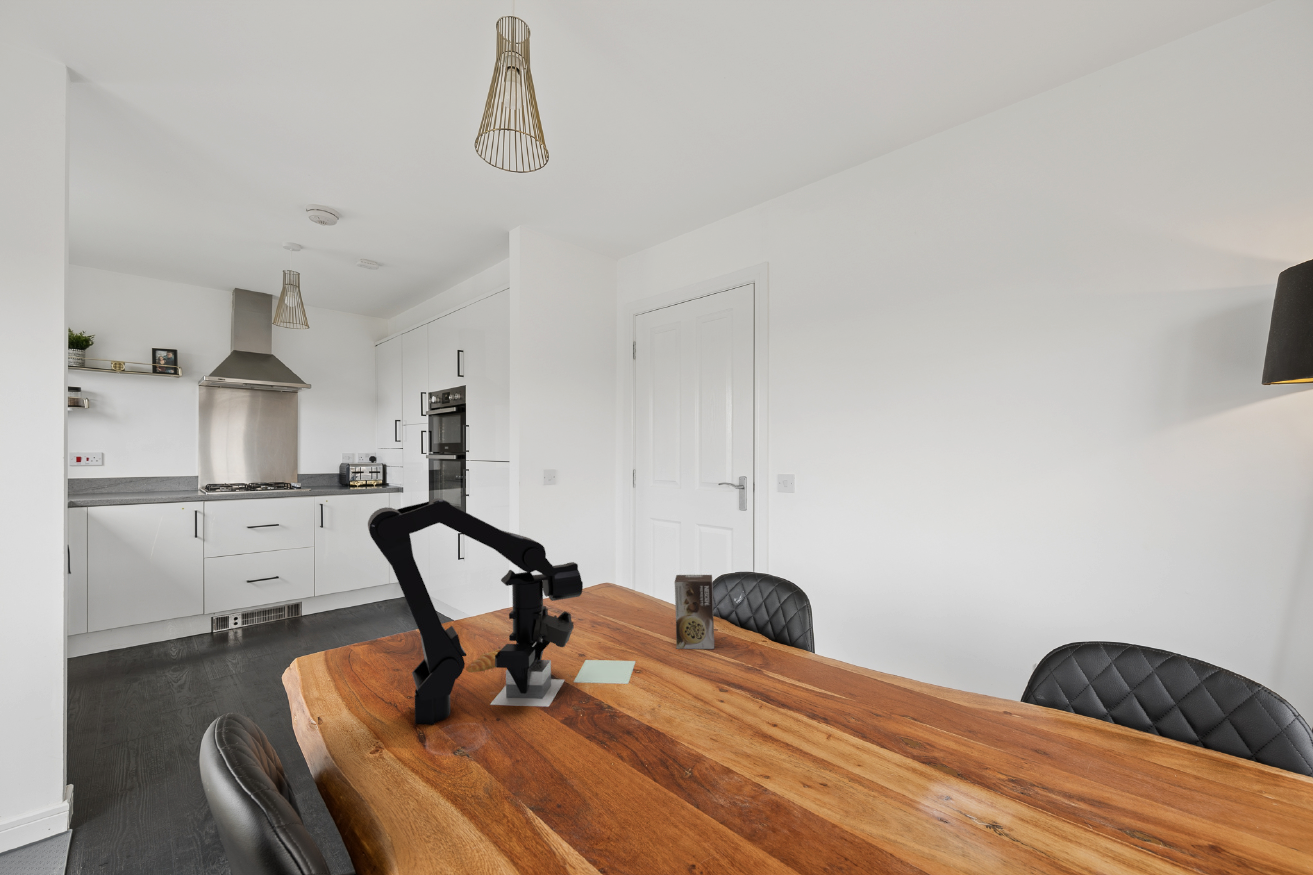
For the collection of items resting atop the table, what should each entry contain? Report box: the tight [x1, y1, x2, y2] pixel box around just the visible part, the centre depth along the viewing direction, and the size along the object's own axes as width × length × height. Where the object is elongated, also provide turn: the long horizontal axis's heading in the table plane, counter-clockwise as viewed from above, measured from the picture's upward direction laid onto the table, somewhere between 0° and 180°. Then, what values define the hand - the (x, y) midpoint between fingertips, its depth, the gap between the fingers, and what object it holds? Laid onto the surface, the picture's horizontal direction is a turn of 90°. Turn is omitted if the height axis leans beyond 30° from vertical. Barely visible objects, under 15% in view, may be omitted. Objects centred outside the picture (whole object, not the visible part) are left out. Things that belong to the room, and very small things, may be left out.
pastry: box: [465, 648, 502, 673], centre depth 118 cm, size 9×7×4 cm
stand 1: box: [489, 678, 565, 708], centre depth 104 cm, size 11×11×2 cm
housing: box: [505, 659, 552, 699], centre depth 105 cm, size 6×7×5 cm
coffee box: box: [674, 574, 715, 650], centre depth 131 cm, size 9×6×16 cm
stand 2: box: [573, 659, 636, 685], centre depth 113 cm, size 11×11×2 cm
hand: (529, 686), depth 104 cm, fingers closed on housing, 5 cm apart
